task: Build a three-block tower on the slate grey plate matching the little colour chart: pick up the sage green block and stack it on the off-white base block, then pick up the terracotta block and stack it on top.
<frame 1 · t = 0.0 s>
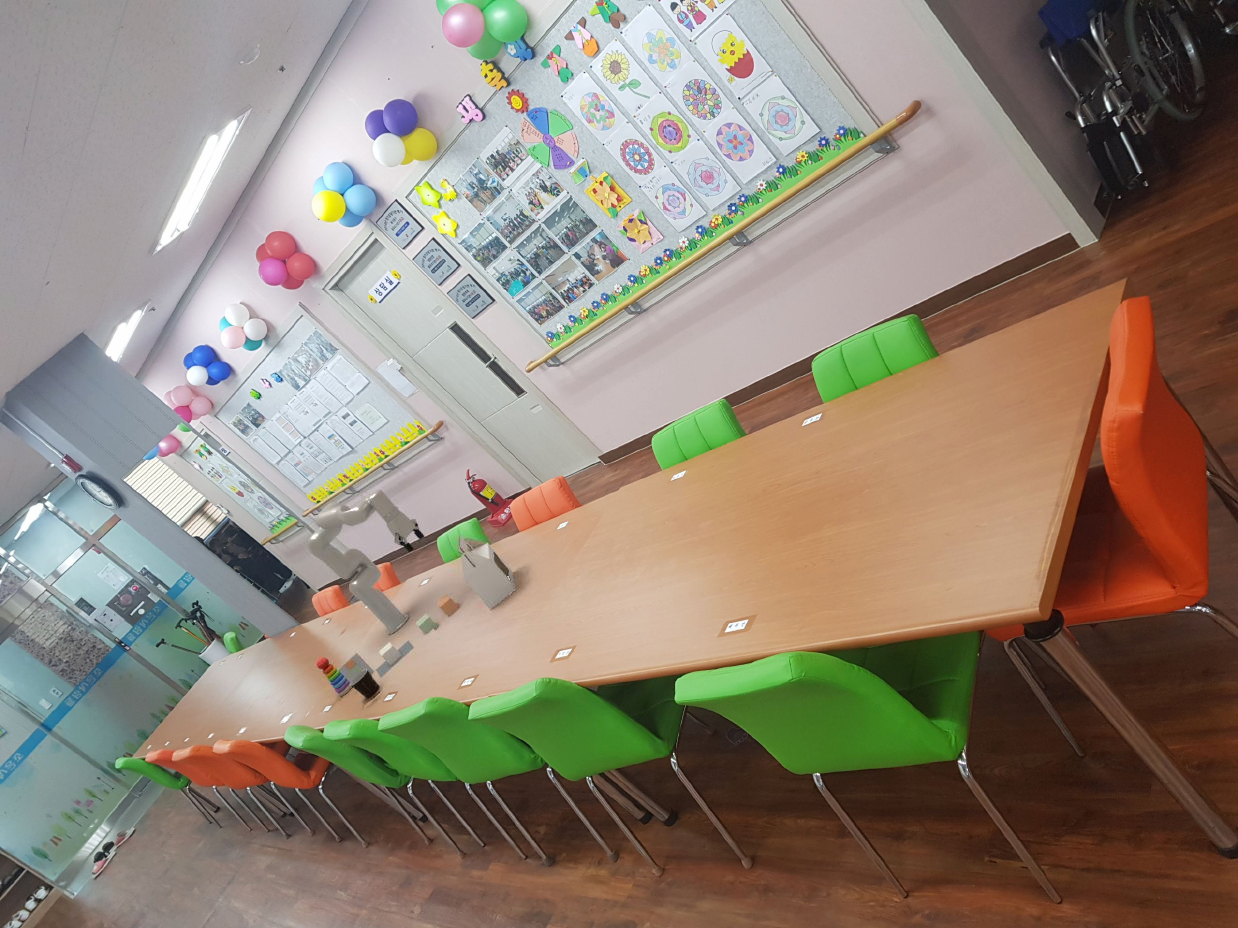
hand: (417, 544, 362), 31 cm above the table, tool pointing down, fingers open, 9 cm apart
gable box: (502, 591, 342), on the table
stacking toy: (347, 690, 361), on the table
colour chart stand: (366, 680, 355), on the table
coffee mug: (374, 696, 333), on the table
sage green block: (431, 629, 358), on the table
off-white base block: (394, 658, 352), point 1 cm above the table, touching build plate
terracotta block: (452, 610, 362), on the table
build plate: (396, 660, 352), on the table
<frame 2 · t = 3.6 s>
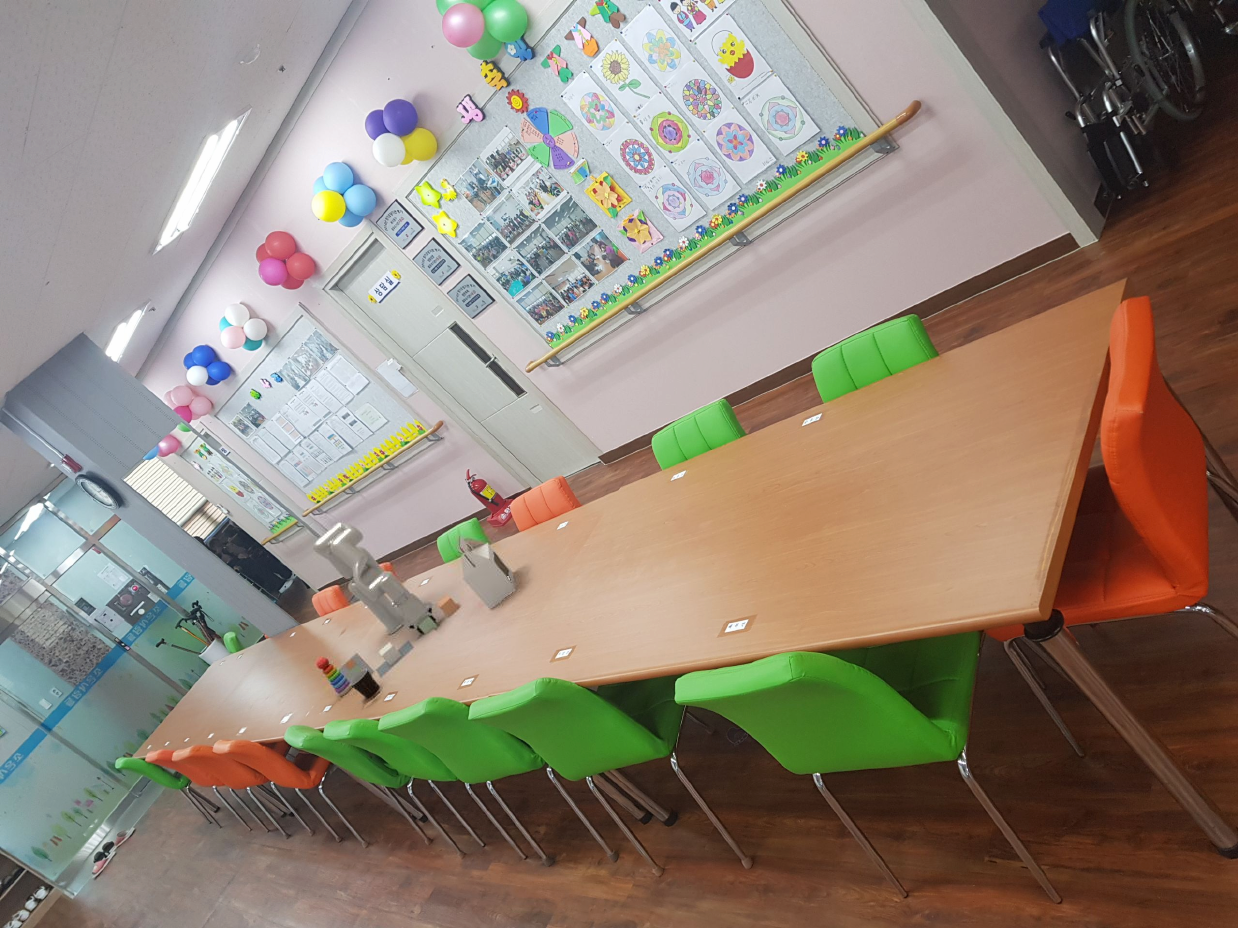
hand: (429, 627, 358), 1 cm above the table, tool pointing down, fingers closed on sage green block, 6 cm apart
sage green block: (430, 629, 358), on the table, touching gripper
everything else where it was.
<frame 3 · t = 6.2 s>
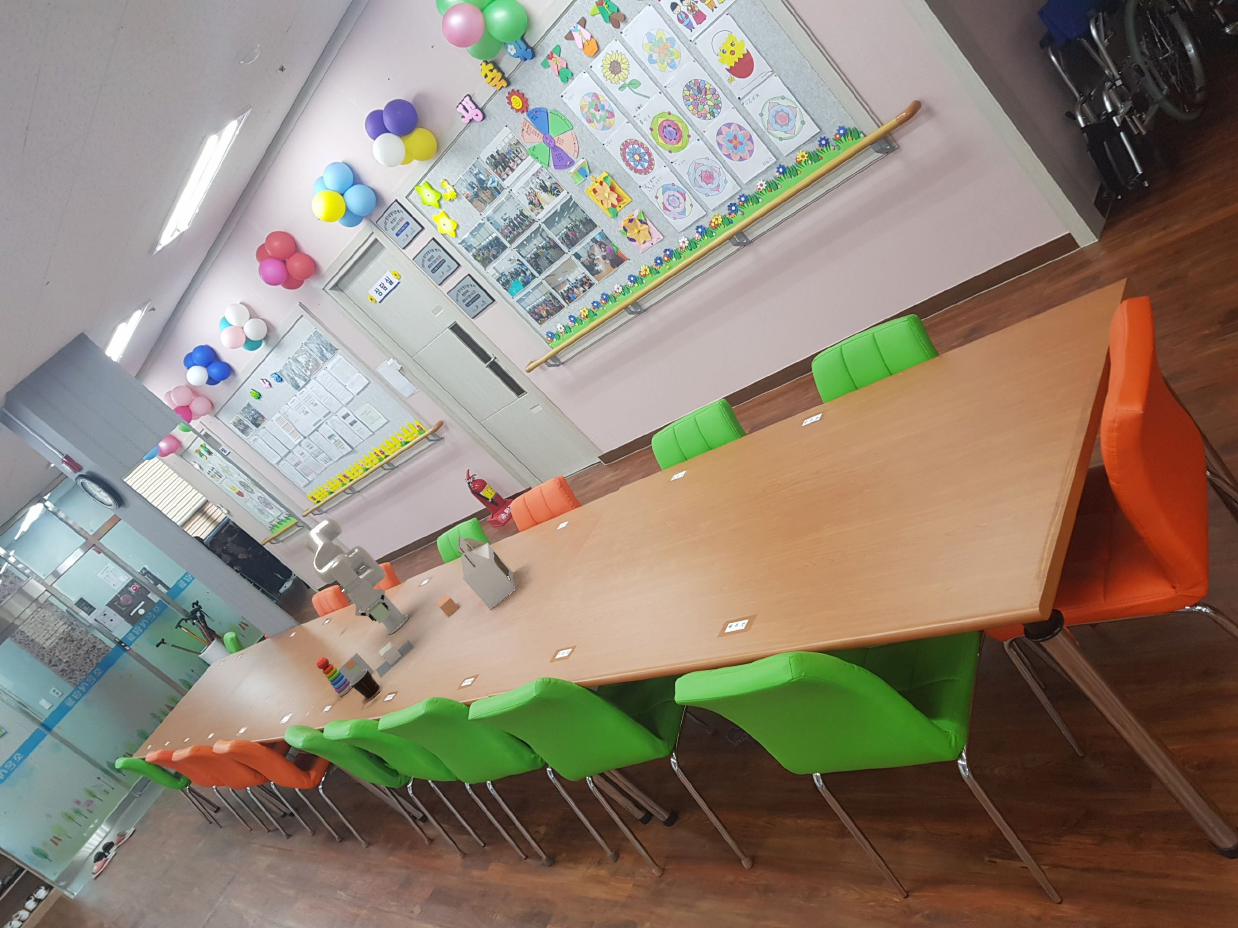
hand: (381, 614, 349), 20 cm above the table, tool pointing down, fingers closed on sage green block, 5 cm apart
sage green block: (383, 616, 350), point 18 cm above the table, touching gripper
everything else where it was.
when the fingers open (10 cm above the table, at t = 9.1 s): sage green block drops 1 cm, resting on off-white base block.
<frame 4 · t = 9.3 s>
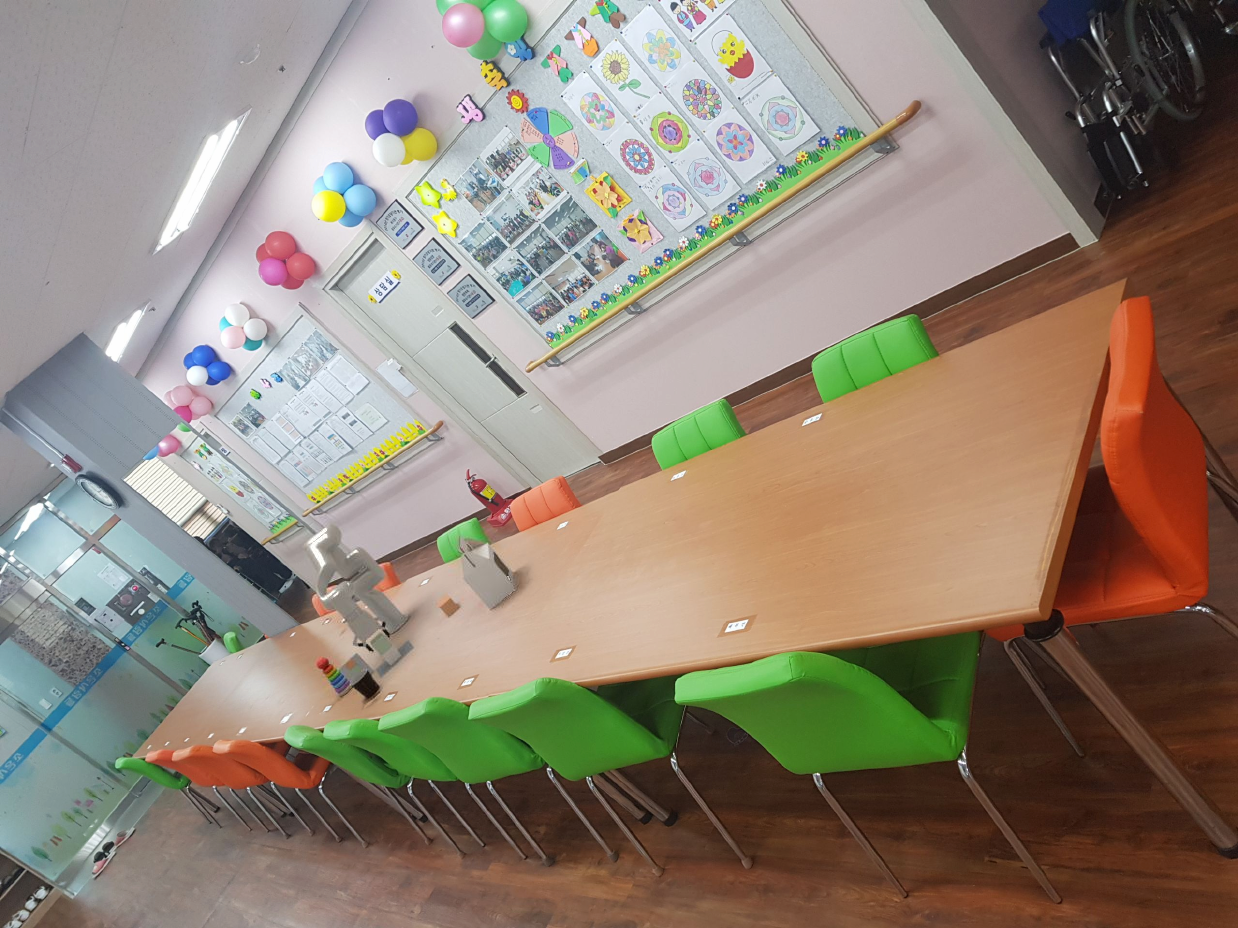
hand: (380, 643, 349), 10 cm above the table, tool pointing down, fingers open, 8 cm apart
sage green block: (385, 648, 350), point 7 cm above the table, touching off-white base block
off-white base block: (394, 658, 352), point 1 cm above the table, touching build plate, sage green block
everything else where it was.
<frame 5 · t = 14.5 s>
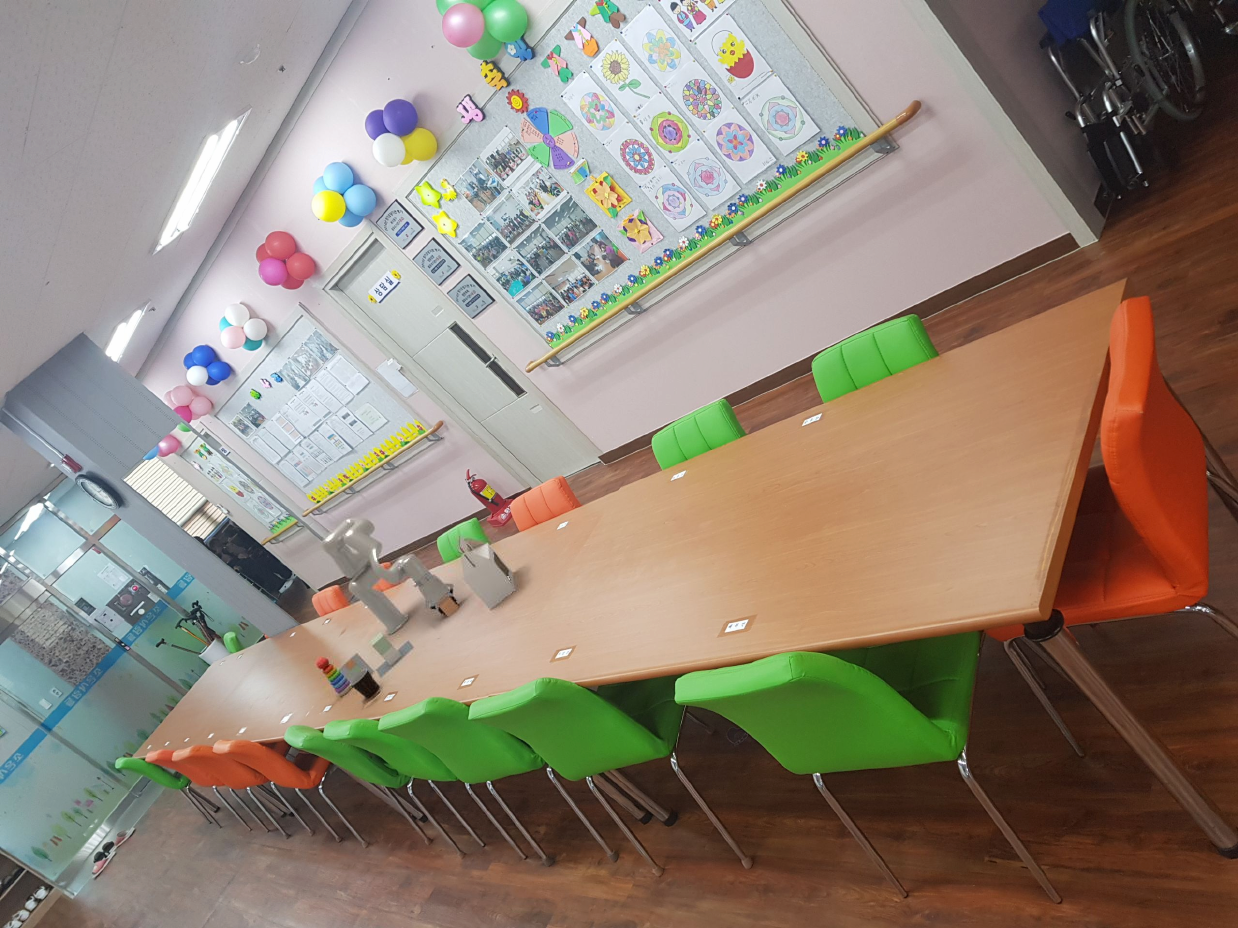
hand: (450, 608, 361), 1 cm above the table, tool pointing down, fingers closed on terracotta block, 6 cm apart
terracotta block: (452, 610, 362), on the table, touching gripper
everything else where it was.
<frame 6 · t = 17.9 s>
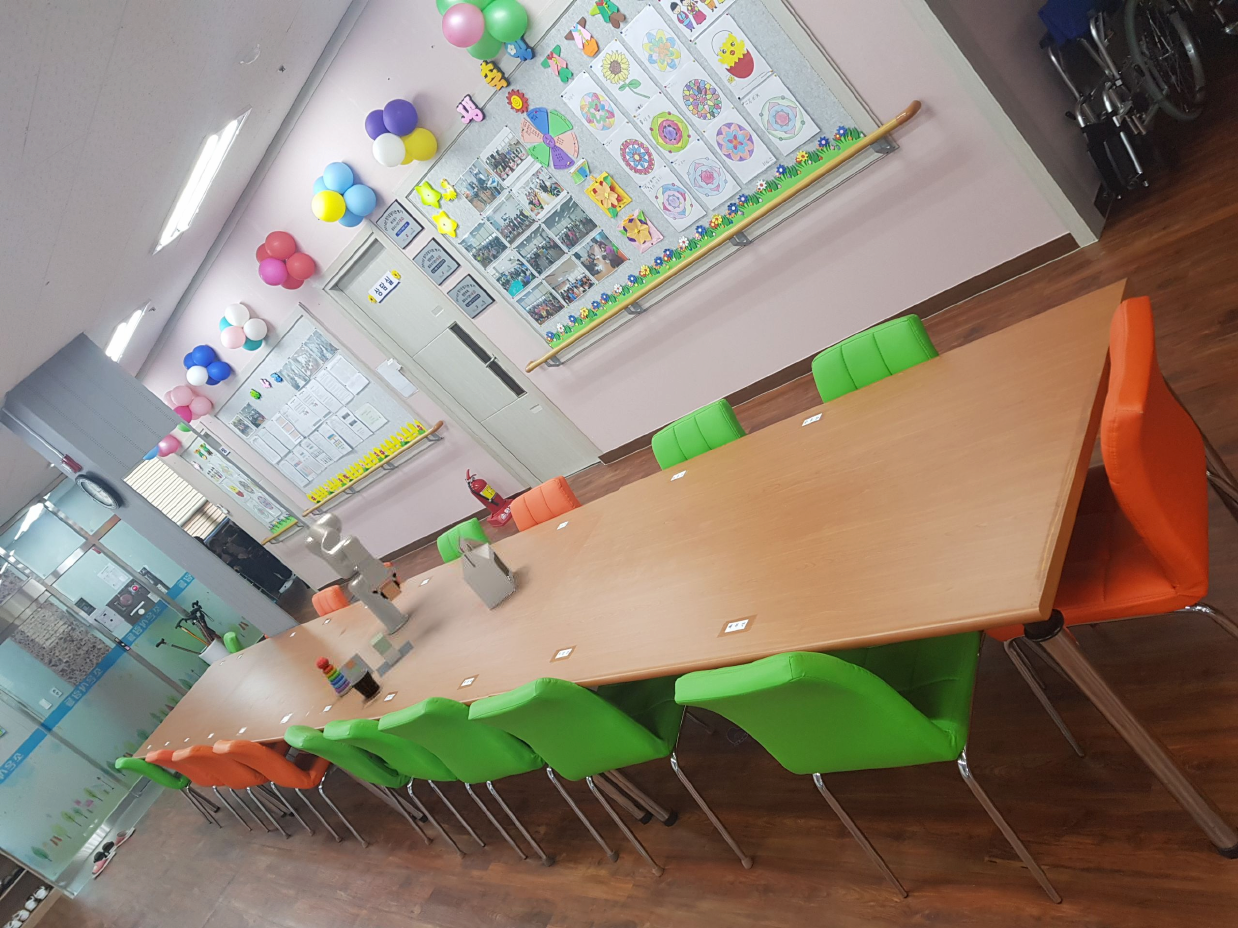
hand: (393, 592, 351), 23 cm above the table, tool pointing down, fingers closed on terracotta block, 6 cm apart
terracotta block: (395, 595, 352), point 22 cm above the table, touching gripper
everything else where it was.
when the fingers open (16 cm above the table, at t = 21.3 s): terracotta block drops 1 cm, resting on sage green block.
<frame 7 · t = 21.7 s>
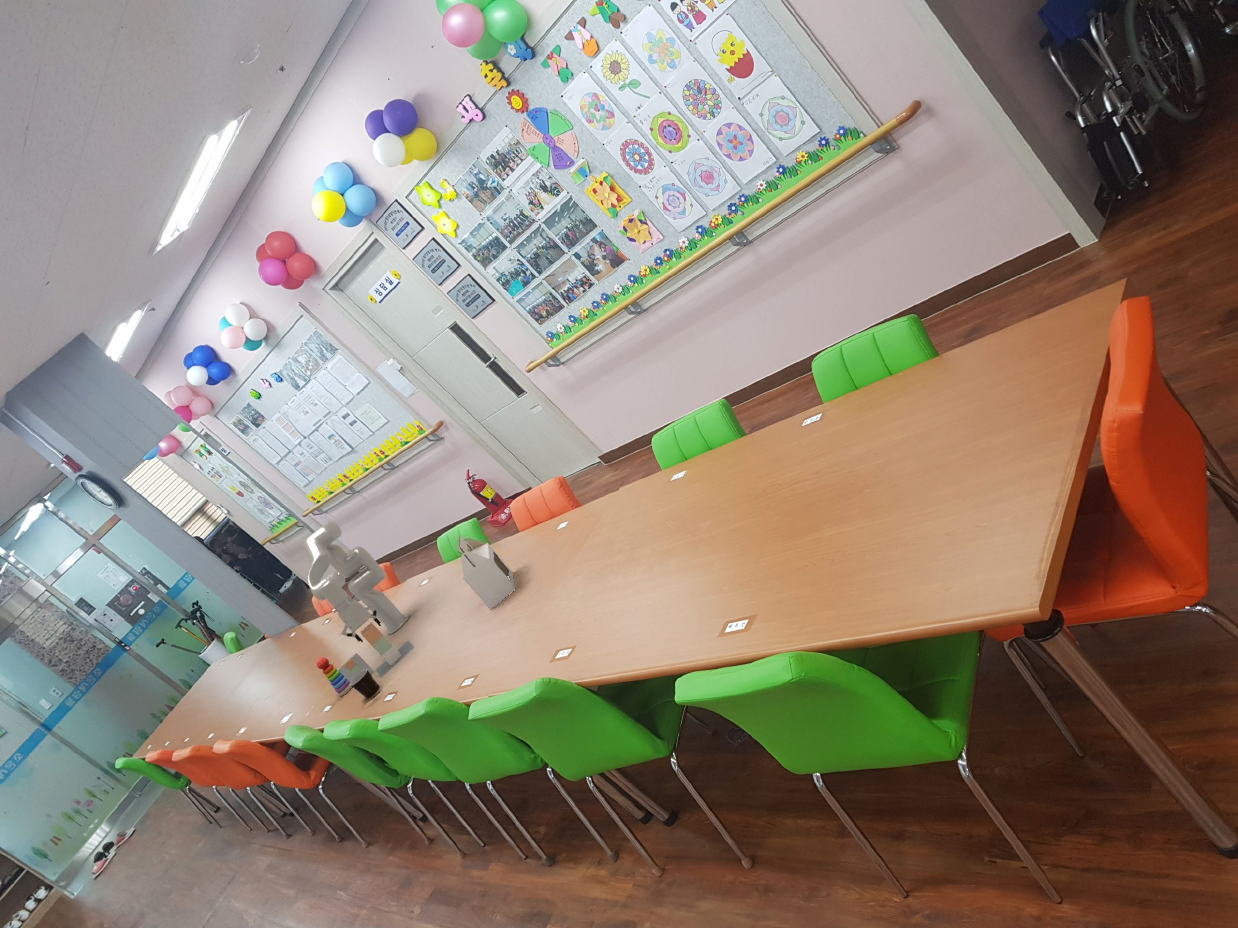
hand: (371, 633, 348), 16 cm above the table, tool pointing down, fingers open, 9 cm apart
sage green block: (385, 648, 350), point 7 cm above the table, touching off-white base block, terracotta block
terracotta block: (376, 638, 348), point 13 cm above the table, touching sage green block
everything else where it was.
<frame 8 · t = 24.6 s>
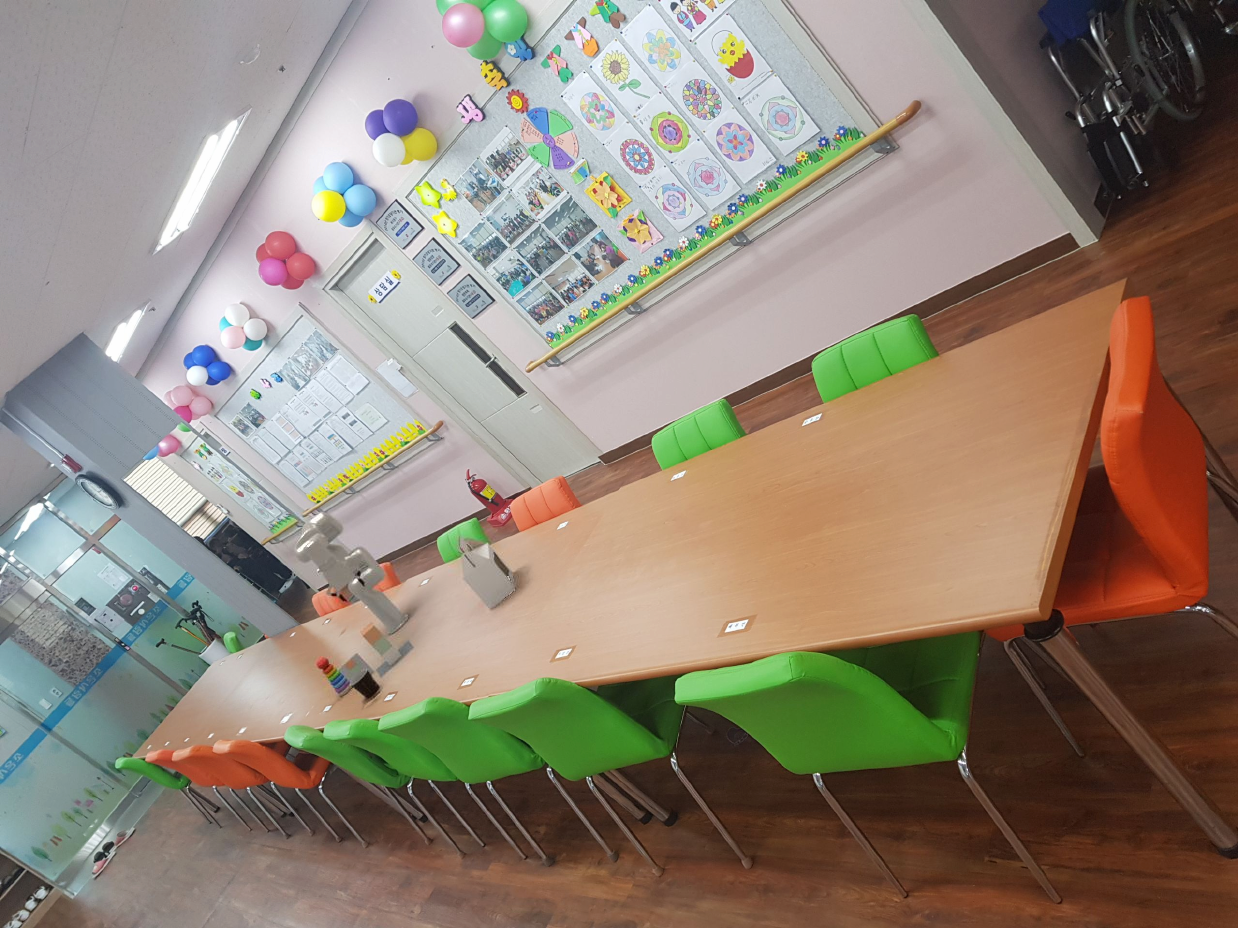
hand: (355, 593, 352), 32 cm above the table, tool pointing down, fingers open, 9 cm apart
nothing on the table moved.
at the end: sage green block 0.1 cm off-centre on the build plate, point 7.2 cm above the build plate's base; terracotta block 0.1 cm off-centre on the build plate, point 13.2 cm above the build plate's base; terracotta block tilted 0° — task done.
